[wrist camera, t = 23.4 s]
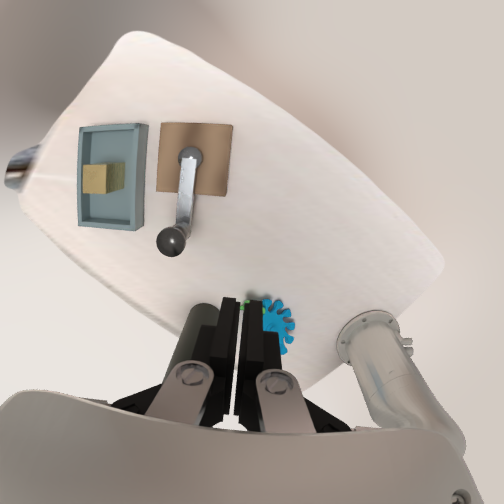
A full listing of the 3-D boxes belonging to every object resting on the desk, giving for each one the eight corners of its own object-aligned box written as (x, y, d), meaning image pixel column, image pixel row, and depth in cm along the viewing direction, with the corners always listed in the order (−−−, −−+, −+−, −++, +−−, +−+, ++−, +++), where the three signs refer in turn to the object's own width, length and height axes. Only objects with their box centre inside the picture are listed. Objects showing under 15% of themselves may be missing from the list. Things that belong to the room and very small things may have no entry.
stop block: (125, 162, 39) (106, 164, 33) (124, 188, 40) (105, 194, 34) (103, 162, 39) (83, 165, 33) (102, 187, 40) (82, 193, 34)
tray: (148, 125, 38) (139, 123, 34) (143, 225, 43) (135, 231, 40) (91, 128, 38) (79, 127, 34) (89, 220, 43) (78, 225, 39)
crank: (180, 145, 37) (164, 144, 30) (205, 148, 37) (194, 146, 30) (171, 238, 41) (155, 254, 34) (195, 241, 41) (183, 259, 34)
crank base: (232, 126, 38) (231, 124, 36) (226, 194, 41) (224, 196, 39) (165, 123, 38) (160, 122, 36) (160, 189, 41) (155, 191, 39)
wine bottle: (227, 311, 47) (199, 476, 19) (214, 336, 49) (182, 491, 21) (196, 297, 47) (137, 454, 18) (184, 322, 48) (129, 472, 20)
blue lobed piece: (306, 334, 47) (267, 374, 41) (284, 333, 52) (247, 369, 46) (275, 280, 45) (230, 318, 40) (254, 284, 50) (212, 317, 45)
